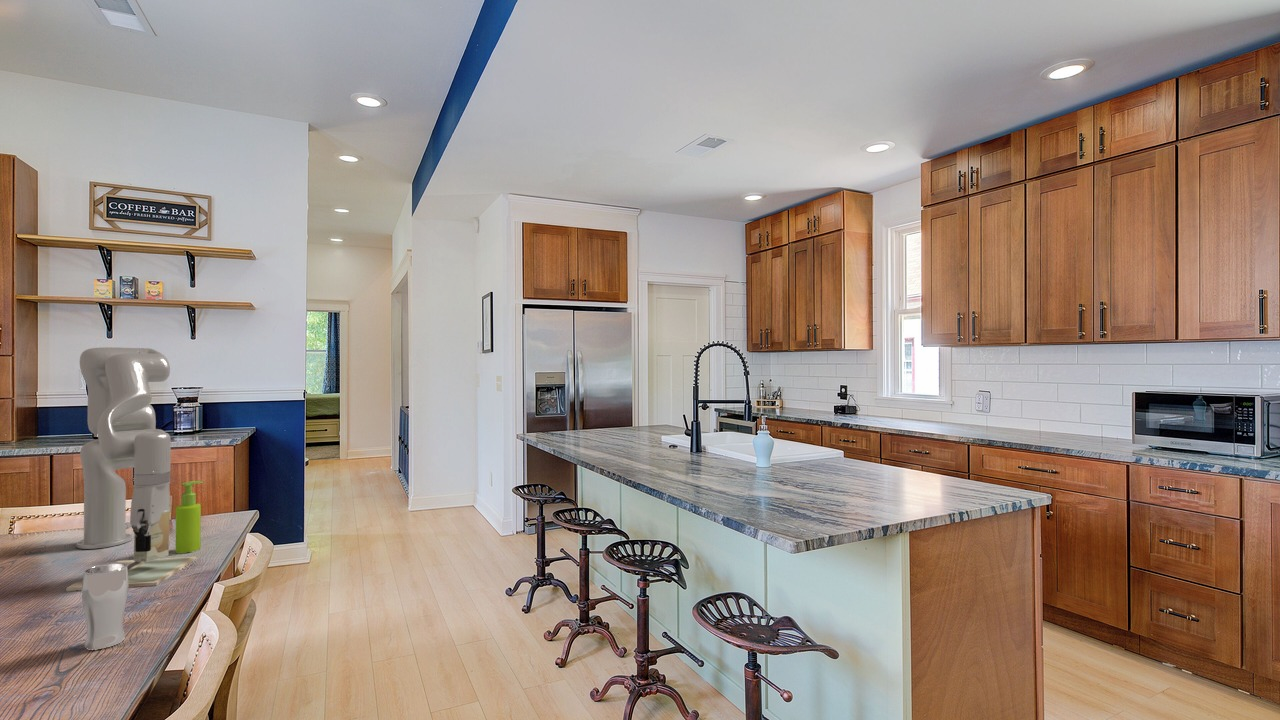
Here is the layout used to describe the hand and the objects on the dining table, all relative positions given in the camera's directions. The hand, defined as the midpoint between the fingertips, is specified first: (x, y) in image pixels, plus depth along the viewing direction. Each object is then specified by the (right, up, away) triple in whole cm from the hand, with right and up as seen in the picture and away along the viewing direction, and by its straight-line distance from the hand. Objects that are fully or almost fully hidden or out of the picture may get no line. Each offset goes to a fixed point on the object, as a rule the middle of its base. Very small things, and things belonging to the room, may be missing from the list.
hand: (151, 546), depth 160 cm
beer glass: (+23, -7, -40) cm, 47 cm away
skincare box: (0, -4, 0) cm, 4 cm away
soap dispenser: (-4, -7, +19) cm, 20 cm away
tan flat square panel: (-3, -7, -2) cm, 8 cm away
